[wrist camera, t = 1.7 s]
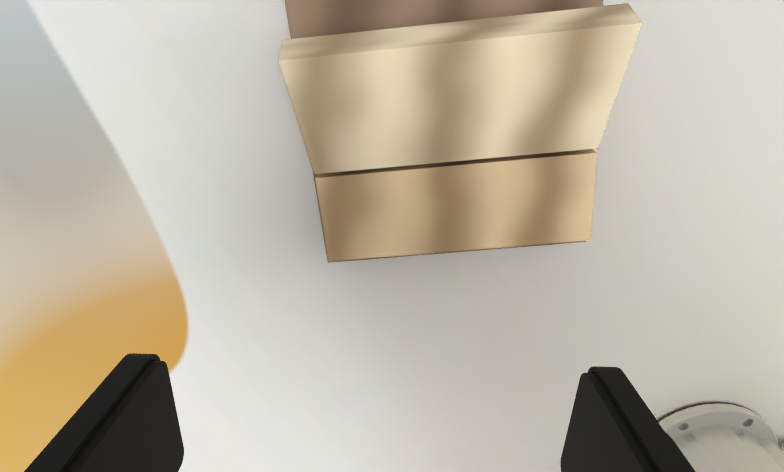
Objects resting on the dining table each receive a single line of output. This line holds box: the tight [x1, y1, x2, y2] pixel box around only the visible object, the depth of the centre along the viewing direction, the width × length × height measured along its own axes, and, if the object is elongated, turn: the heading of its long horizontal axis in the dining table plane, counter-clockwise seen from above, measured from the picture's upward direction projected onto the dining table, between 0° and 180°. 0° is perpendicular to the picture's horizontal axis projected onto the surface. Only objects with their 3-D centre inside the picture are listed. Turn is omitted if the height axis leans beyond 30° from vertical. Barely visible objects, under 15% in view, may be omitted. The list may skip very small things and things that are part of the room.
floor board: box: [285, 0, 603, 262], centre depth 29 cm, size 19×21×4 cm
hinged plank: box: [278, 3, 642, 174], centre depth 26 cm, size 18×8×2 cm, turn 95°
